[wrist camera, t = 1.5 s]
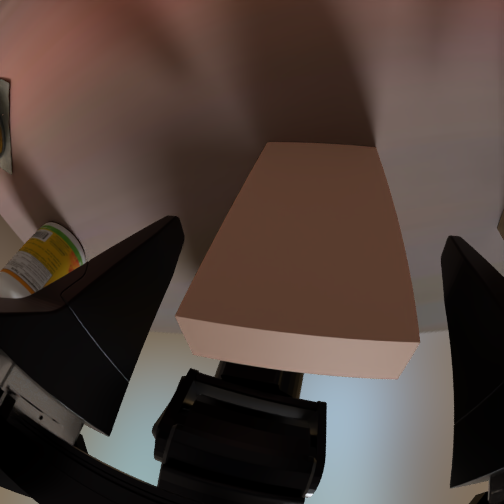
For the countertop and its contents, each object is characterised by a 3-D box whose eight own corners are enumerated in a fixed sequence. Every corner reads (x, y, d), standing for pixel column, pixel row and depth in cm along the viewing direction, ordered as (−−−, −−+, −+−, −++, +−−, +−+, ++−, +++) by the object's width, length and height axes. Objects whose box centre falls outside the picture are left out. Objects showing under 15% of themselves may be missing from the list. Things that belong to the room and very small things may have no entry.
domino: (373, 178, 13) (397, 379, 6) (269, 172, 15) (192, 354, 7) (375, 147, 12) (420, 342, 5) (267, 141, 13) (174, 315, 6)
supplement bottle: (78, 275, 25) (23, 355, 18) (39, 239, 24) (-22, 313, 16) (94, 252, 22) (26, 346, 15) (49, 209, 20) (-28, 293, 13)
